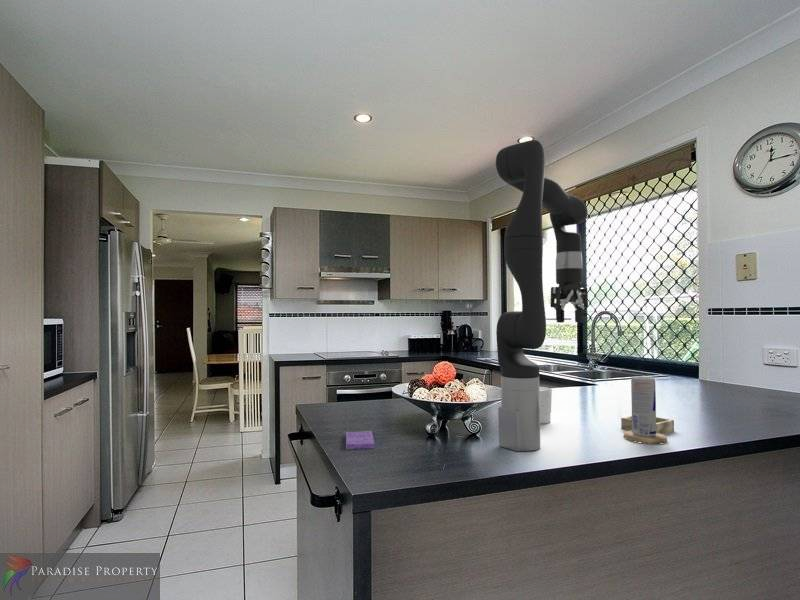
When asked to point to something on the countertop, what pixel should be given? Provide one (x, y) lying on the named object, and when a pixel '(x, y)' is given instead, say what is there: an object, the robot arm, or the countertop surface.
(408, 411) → the countertop surface
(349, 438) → the sponges
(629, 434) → the disc
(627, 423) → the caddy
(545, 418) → the white cup
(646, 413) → the beverage can
